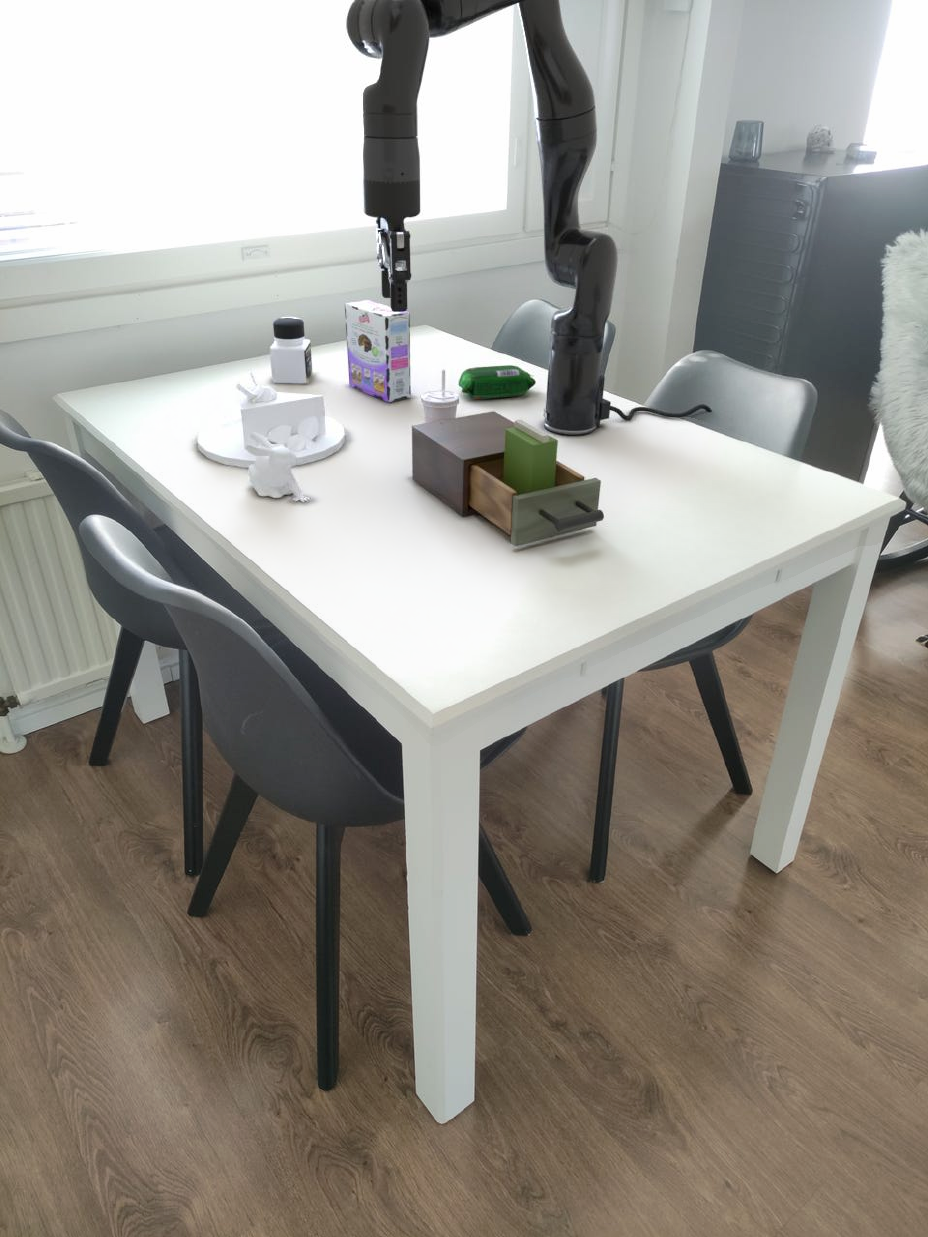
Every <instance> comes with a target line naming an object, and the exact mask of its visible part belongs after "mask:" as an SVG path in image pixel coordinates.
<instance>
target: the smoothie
mask: <svg viewBox="0 0 928 1237" xmlns="http://www.w3.org/2000/svg"><path fill="white" fill-rule="evenodd" d="M419 402H420V404H421V405H422V411H423V417H424V423H430V422H435V421H441V420H447V419H452V418H457V409H458V405H459V404H460V395H459V394H458V393H456V392H453V391H450V390H446V369H441V390H430V391H426V392H424V393H422V394H421V395H420V401H419Z"/></svg>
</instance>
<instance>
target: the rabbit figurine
mask: <svg viewBox="0 0 928 1237" xmlns="http://www.w3.org/2000/svg"><path fill="white" fill-rule="evenodd" d="M250 437H251V438H252V439H253V440H255V441H257V444H256V445H255V446H254V445H251V444H247V445H246V449H247V451H248V452H249V453H251V454H253V455H255V456H256V459H255V463H254V464H252V465H250V466H249V468H248V477H249V481H250V483H251V485H252V487H253V489H254V490H255V492H256V493H257V495H258V496H259V497H270V498H274V499H280V498H282V497H283V496H284V495H291V494H294V496H295V497H293V498H292V501H294V502H299V501H301V502H302V503H305V502H308V501H310V500H311V499H310V498H309V497H307V496H305V495H304V493H303V492H302V490H301V488H300V485H299V483H298V482H297V480H296V478H295V476H294V473H293V471H292V468H293V467H295V465H296V460H297V458H296V455H295V454H294V453H293V452H292V451H291V450H289V449H288V448H285V447H275V446H273V445H272V444H271V443H270V442H269V441H268V438H267V436H266V437H265V438H264V437H263V436H261V435H259V434H258V433H256V432H252V433H251V435H250ZM296 466H297V465H296Z"/></svg>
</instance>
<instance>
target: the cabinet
mask: <svg viewBox="0 0 928 1237" xmlns="http://www.w3.org/2000/svg"><path fill="white" fill-rule="evenodd" d="M514 427H515V421H513V420H510V419H509V418H507V417H505V416H503V415H502V414H500V413H498V412H496V411H495V410H493V411H487V412H481V413H475V414H471V415H470V414H469V415H465V416H464V415H463V416H458V417H456V418H452V419H447V420H441V421H435V422H430V423H425V422H424V423H420V424H414V425H411V465H412V466H411V467H412V469H411V471H412V472H411V473H412V480H413V481H414V482H416V483H417V484H418V485H420V486H421V487H422V488H423V489H425V490H426V491H428V492H429V493H430V494H432V495H433V496H434V497H435V498H437V499H438V500H439V501H441V502H442V503H444V504H445V506H448V507H449V508H450V509H451V510H453V511H454V512H455V513H457V514H458V515H459V516H461V517H462V518H463V517H468V516H472V515H476V514H480V513H479V512H477V511H476V510H475V509H473V508H472V507H471V506H469V505H468V473H469V465H470V464H474V463H479V462H484V461H489V460H494V459H499V458H504V449H505V429H509V428H514Z"/></svg>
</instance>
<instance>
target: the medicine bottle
mask: <svg viewBox="0 0 928 1237" xmlns="http://www.w3.org/2000/svg"><path fill="white" fill-rule="evenodd" d="M272 328H273V337H274V338H273V339H274V342H273V343H272V345H271V346H270V348H269V356H270V357H269V358H270V369H271V380H272V383H273V384H296V385H297V384H298V385H301V384H303V385H307V384H308V383H309V381H310V379H311V377H312V375H313V361H312V360H313V359H312V346H311V340H310V339H306V335H305V323H304V320H302V319H301V318H299V317H295V316H283V317H279V318H277V319H275V320H274V321H273V322H272Z"/></svg>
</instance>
